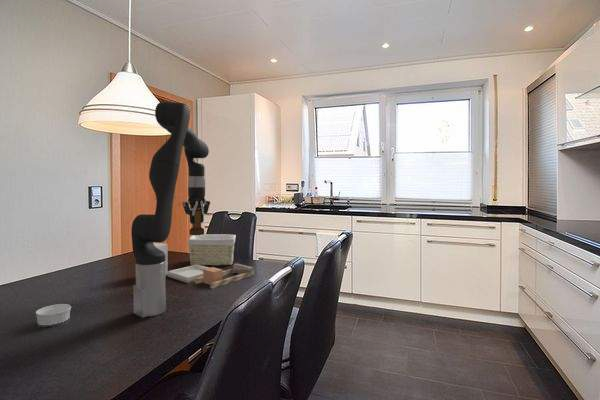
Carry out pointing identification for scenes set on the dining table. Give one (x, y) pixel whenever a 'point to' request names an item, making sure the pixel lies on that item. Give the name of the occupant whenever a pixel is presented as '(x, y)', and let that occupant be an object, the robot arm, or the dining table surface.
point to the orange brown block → (212, 275)
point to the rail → (237, 268)
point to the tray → (187, 273)
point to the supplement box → (164, 248)
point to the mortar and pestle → (197, 223)
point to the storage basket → (211, 249)
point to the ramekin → (53, 314)
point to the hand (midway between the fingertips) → (196, 223)
